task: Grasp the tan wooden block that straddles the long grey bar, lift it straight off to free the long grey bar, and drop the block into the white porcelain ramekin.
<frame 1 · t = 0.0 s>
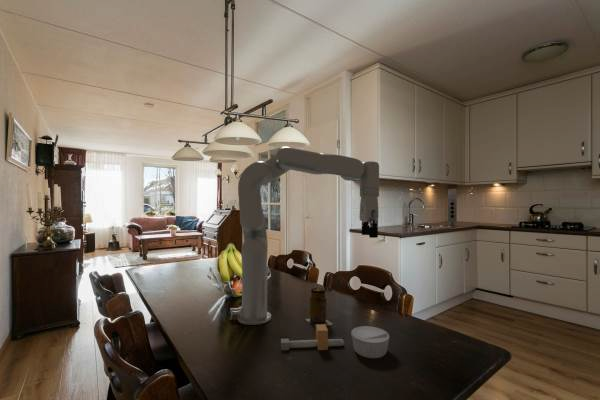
hand: (369, 236, 119), 31 cm above the table, tool pointing down, fingers open, 9 cm apart
long grey bar: (315, 346, 93), on the table
condiment: (318, 322, 112), on the table
ramekin: (370, 351, 90), on the table
tan wooden block: (321, 346, 93), on the table
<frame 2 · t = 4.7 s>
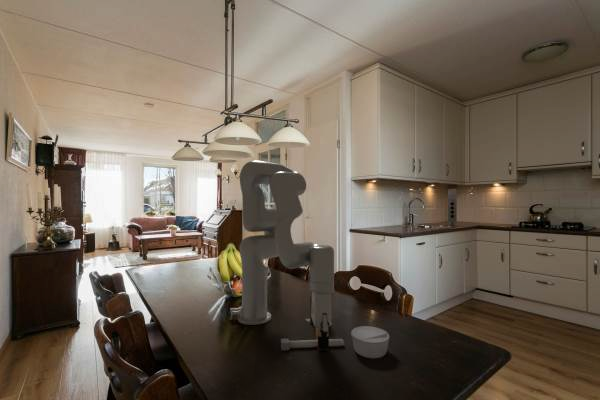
hand: (321, 344, 93), 1 cm above the table, tool pointing down, fingers closed on tan wooden block, 4 cm apart
tan wooden block: (321, 346, 93), on the table, touching gripper
everything else where it was.
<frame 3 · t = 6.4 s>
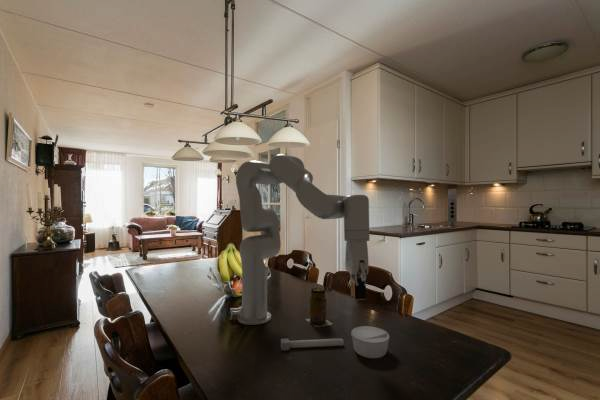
hand: (357, 295, 91), 16 cm above the table, tool pointing down, fingers closed on tan wooden block, 4 cm apart
tan wooden block: (357, 297, 91), point 16 cm above the table, touching gripper
everything else where it was.
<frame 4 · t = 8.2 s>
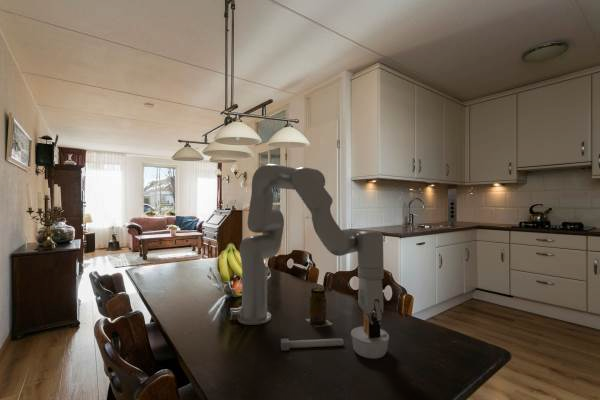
hand: (371, 332, 90), 6 cm above the table, tool pointing down, fingers closed on tan wooden block, 4 cm apart
ramekin: (369, 352, 90), on the table, touching tan wooden block
tan wooden block: (370, 333, 90), point 5 cm above the table, touching gripper, ramekin
everything else where it was.
when the fingers open (6 cm above the table, at t = 8.6 s): tan wooden block stays where it is, resting on ramekin.
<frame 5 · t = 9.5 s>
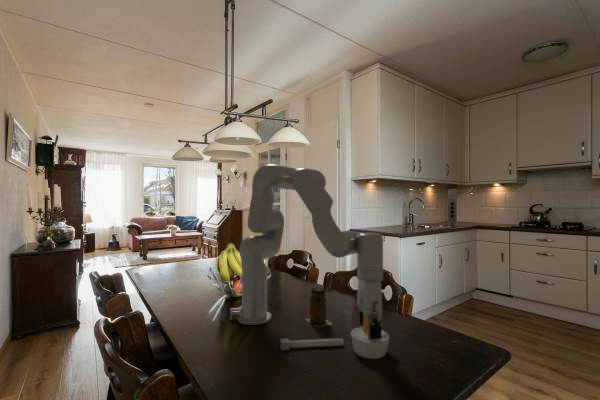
hand: (370, 331, 90), 6 cm above the table, tool pointing down, fingers open, 9 cm apart
tan wooden block: (370, 334, 90), point 5 cm above the table, touching ramekin
everything else where it was.
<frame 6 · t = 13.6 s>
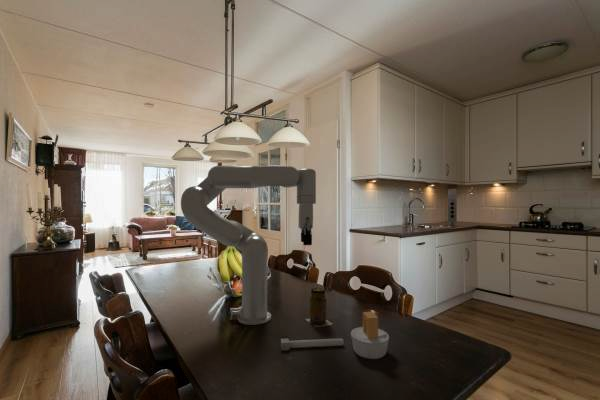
hand: (306, 243, 119), 28 cm above the table, tool pointing down, fingers open, 9 cm apart
nothing on the table moved.
at the end: tan wooden block 0.2 cm from the ramekin (horizontally); tan wooden block point 5.1 cm above the table; long grey bar moved 0.1 cm from its start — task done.
